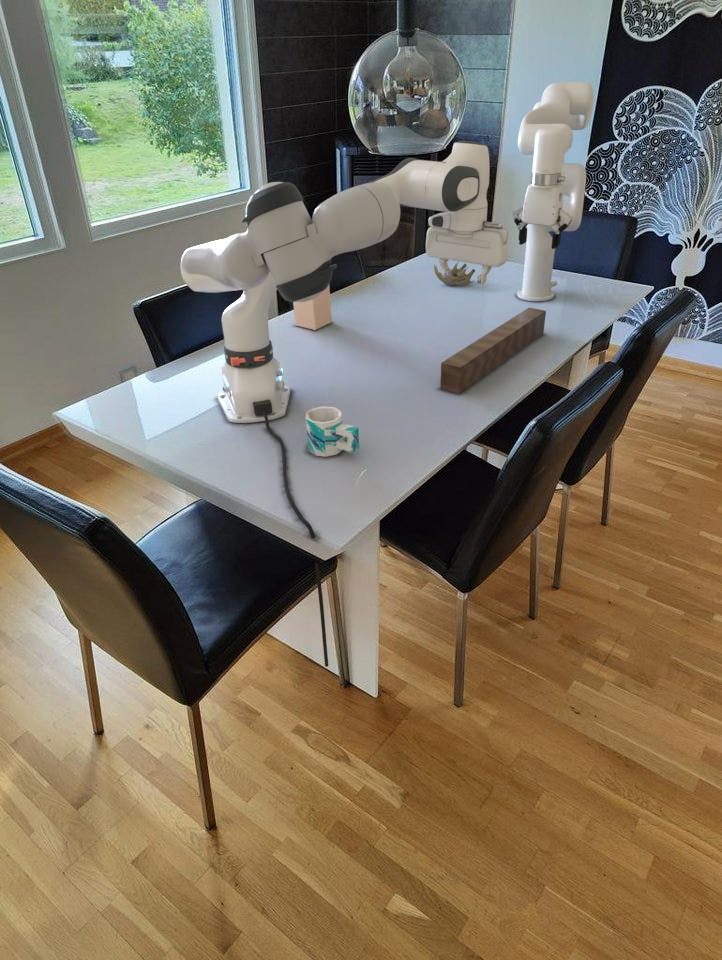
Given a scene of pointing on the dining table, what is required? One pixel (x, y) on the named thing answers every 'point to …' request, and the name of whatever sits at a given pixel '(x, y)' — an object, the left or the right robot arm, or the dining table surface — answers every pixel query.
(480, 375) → the bar
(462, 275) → the jawbone
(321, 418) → the mug
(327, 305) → the soap dispenser
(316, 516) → the dining table surface
